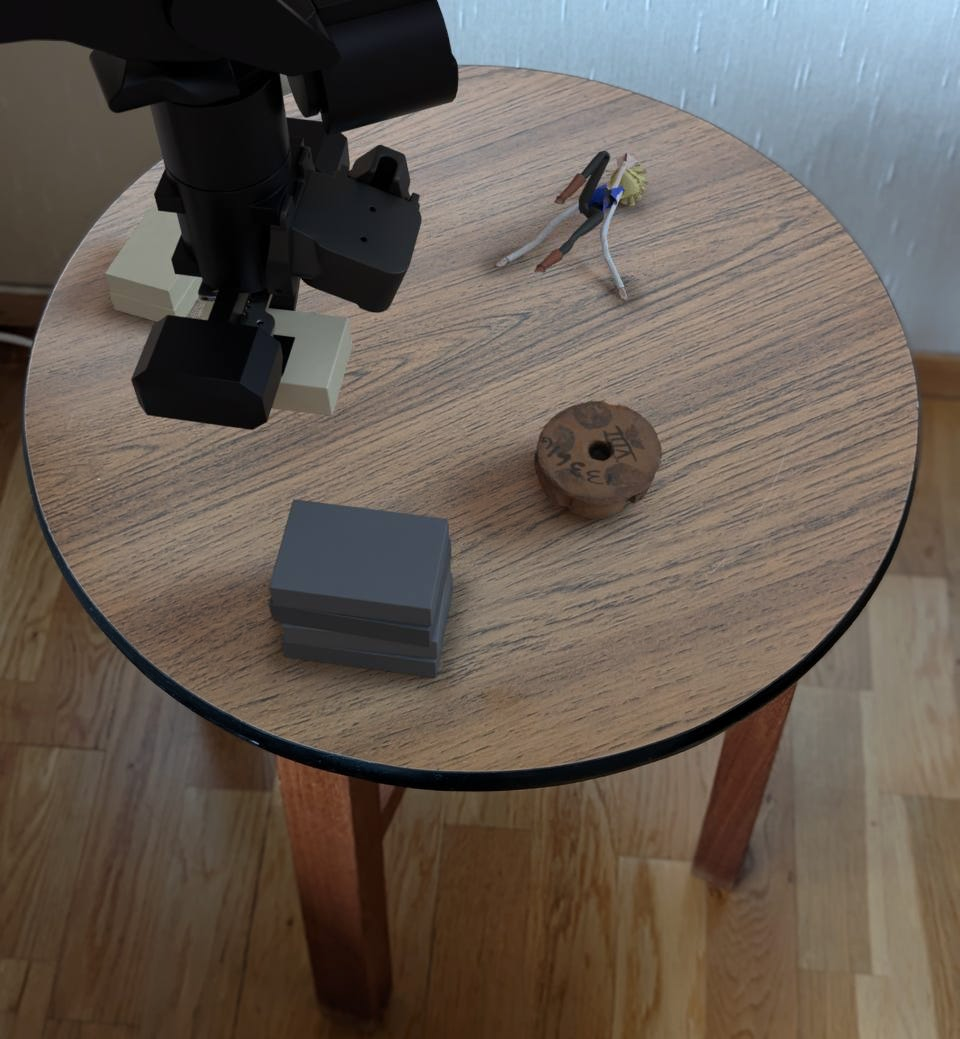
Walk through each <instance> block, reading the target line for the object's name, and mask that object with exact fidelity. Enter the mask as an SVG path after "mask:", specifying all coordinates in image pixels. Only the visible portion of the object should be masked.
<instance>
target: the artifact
mask: <svg viewBox="0 0 960 1039" xmlns="http://www.w3.org/2000/svg"><path fill="white" fill-rule="evenodd" d="M662 456H663V450H662V444H661V442H660V439H659V436H658V434H657V431H656V430H655V428H654V427H653V425H652V423H651V422H649V420H647V419H646V418H645V417H644V416H642V415H641V414H640V413H639V412H638V411H635V410H634V409H632V408H630V407H628V406H625V405H622V404H611V403H609V402H606V401H604V400H590V401H585V402H580V403H578V404H573V405H571V406H569V407H566V408H564V409H562V410H561V411H559V412H558V413H556V414H555V415H554V416H553V417H551V419H550V420H549V421H548V422H546V424H545V425H544V426H543V428H542V430H541V431H540V434H539V436H538V441H537V443H536V450H535V452H534V455H533V466H534V473H535V475H536V478H537V481H538V483H539V485H540V488H541V489H542V491H543V493H544V494H545V496H546V497H547V498H548V499H550V501H552V502H553V503H555V504H557V505H558V506H561V507H565V508H566V509H569V510H570V511H571V512H572V513H574V514H577V515H578V516H580V517H584V518H587V519H589V520H594V521H595V520H605V519H606V518H608V517H611V516H614V515H615V514H618V513H619V512H620V511H621V510H622V509H623V508H624V507H625V506H626V504H627V503H628V502H630V503H632V504H635V503H638V502H640V501H641V500H643V499H644V497H646V496H647V493H648V491H649V489H650V488H651V486H652V483H653V481H654V480H655V476H656V473H657V471H658V470H659V468H660V466H661V463H662V458H663V457H662Z"/></svg>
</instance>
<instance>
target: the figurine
mask: <svg viewBox="0 0 960 1039" xmlns="http://www.w3.org/2000/svg"><path fill="white" fill-rule="evenodd" d="M610 161H611V155H610V153H609V152H608V151H607V150H601V151H598V152H597V153H596V155H595V156H594V157H593V158H592V159H591V160H590V161H589V163H588V164H587V165H586V166H585V167H584V169H583V170H582V171H581V173H580V172H577V173H576V175H575V176H574V177H573V178H572V179H571V181H570V182H569V184H568V185H567V186H566V187H565V188H564V189H563V191H562V192H560V193H559V195H557V196H556V198H555V200H554V202H553V203H554V204H558V205H564V204H565V203H566V200H567V199H569V198H571V197H572V196H574V194H575V193H576V192H577V191H578V190H579V189H580V188H581V187H582V186H584V187H583V188H582V191H581V193H580V195H579V197H578V201H577V202H575V203H574V204H573V205H571V206H570V207H568V208H567V209H565V210H563V211H562V212H561V213H560V214H558V215H557V216H556V217H555V218H553V219H551V221H550V222H549V223H548V224H547V225H546V226H545V228H543V229H542V231H540V233H538V234H537V237H536V238H534V239H533V240H532V241H530V242H528V243H526V244H525V245H524V246H522V247H521V248H518V249H516V250H515V251H514V252H512V253H510V254H508V255H506V256H505V257H503V258H501V259H500V260H498V261H497V262H496V263H495V267H497V268H498V267H499V268H501V267H504V266H505V265H507V263H511V262H513V261H514V260H516V259H518V258H519V257H521V256H523V255H524V254H525V255H526V253H528V252H529V251H531V250H533V249H534V248H535V247H537V246H538V245H540V244H541V243H542V242H543V241H544V240H545V239H546V237H547V236H548V235H549V234H550V233H551V232H553V231H554V229H555V228H556V227H557V226H558V225H560V224H562V223H563V222H564V221H565V220H566V219H567V218H569V217H570V216H571V215H573V214H574V213H576V212H577V211H579V214H581V215H583V216H585V218H586V220H584V222H582V223H581V225H579V227H577V228H576V229H575V230H574V231H573V233H572V234H571V236H570V237H569V238H568V239H567V240H566V241H565V242H564V243H563V244H562V245H561V246H559V248H556V249H554V250H552V252H550V253H549V254H548V255H547V256H546V257H545V258H544V259H543V260H542V261H540V263H538V264H536V268H534V271H533V272H535V273H542V274H544V273H545V272H546V271H547V269H549V268H551V267H553V266H554V265H555V264H557V263H559V262H561V261H562V260H563V258H564V256H565V255H566V254H568V253H569V252H570V251H571V250H572V248H574V245H575V243H576V241H578V240H579V238H582V237H583V236H585V235H587V234H588V233H590V232H591V231H593V230H594V229H595V228H597V227H598V226H599V225H601V226H600V228H599V241H600V244H601V249H602V255H603V259H604V261H605V263H606V265H607V268H608V271H609V273H610V276H611V277H612V279H613V281H614V284H615V286H616V288H617V290H618V294H619V296H620V298H621V299H622V300H624V301H627V300H628V295H627V292H626V289H625V285H624V283H623V281H622V278H621V276H620V274H619V272H618V270H617V267H616V265H615V263H614V261H613V259H612V256H611V253H610V251H609V241H608V234H609V227H610V223H611V220H612V217H613V216H614V213H615V211H616V209H617V207H618V204H619V202H620V203H621V204H622V205H624V206H626V205H627V204H628V200H629V204H630V205H629V207H634V206H635V204H636V202H639V201H641V200H642V195H644V194H645V193H646V189H645V187H644V185H647V186H649V180H646V178H645V177H644V176H643V175H644V174H647V169H645V168H638V167H642V164H641V162H640V161H639V160H638V159H636V158H634V157H633V156H631V155H630V154H629V153H628V152H625V153H624V154H623V155H622V156H618V157H616V160H615V161H616V165H617V168H616V169H614V170H607V169H606V168H607V166H608V165H609V162H610ZM671 169H673V166H671ZM605 172H606V173H612V174H611V176H610V178H609V181H608V184H607V183H604V184H602V185H599V183H600V181H601V179H602V177H603V175H604V173H605ZM640 174H643V175H640ZM643 184H644V185H643ZM641 194H642V195H641ZM634 196H635V197H634ZM635 198H636V200H635ZM606 209H609V211H608V213H607V215H606V216H605V214H606ZM601 223H602V224H601Z"/></svg>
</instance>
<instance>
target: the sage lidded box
mask: <svg viewBox="0 0 960 1039" xmlns="http://www.w3.org/2000/svg"><path fill="white" fill-rule="evenodd" d="M180 236H181V229H180V225H179V221H178V217H177V213H172V212H164V211H158V208H157V206H154V205H151V206H150V207H149V209H147V212H146V213H145V215H144V216H143V217H142V219H141V220H140V222H139V223H138V224H137V226H136V228H135V229H134V230H133V231H132V233H131V234H130V236H129V237H128V238H127V241H126V242H125V243H124V244H123V246H122V248H121V249H120V251H119V252H118V253H117V254H116V256H115V258H114V259H113V260H112V261H111V263H110V265H109V266H108V268H107V269H106V270H105V272H104V276H105V278H106V281H107V285H108V288H109V292H108V294H109V297H110V300H111V303H112V306H113V309H114V310H115V311H118V312H120V313H124V314H128V315H132V316H135V317H139V318H142V319H146V320H148V321H153V322H155V323H157V322H158V321H160V320H161V319H162V318H164V317H165V316H167V315H173V316H180V317H188V316H189V313H190V312H191V310H192V309H193V307H194V305H195V304H196V303H197V301H198V299H199V296H198V290H199V287H200V285H201V282H202V278H201V277H194V276H186V275H178V274H175V272H174V269H173V265H172V261H171V258H172V256H173V253H174V251H175V248H176V246H177V243H178V241H179V238H180Z"/></svg>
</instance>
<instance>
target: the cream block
mask: <svg viewBox="0 0 960 1039" xmlns="http://www.w3.org/2000/svg"><path fill="white" fill-rule="evenodd" d="M213 304H214V301H213V302H210V301H205V304H204V306H203V309H202V312H201V314H200V317H199V319H203V320H208V318H209V315H210V312H211V309H212V307H213ZM246 308H247V307H246ZM267 312H268V313H269V314H271V315H272V316H273V317H274V319H275V323H276V329H275V332H274V334H276V335H283V336H291V337H295V341H294V344H293V347H292V350H291V353H290V356H289V359H288V362H287V366H286V369H285V372H284V374H283V376H282V378H281V381H280V384H279V387H278V390H277V393H276V396H275V399H274V403H273V406H272V409H273V410H282V411H290V412H297V413H298V412H299V413H306V414H313V415H321V416H329V417H331V416H332V417H333V415H334V413H335V412H334V411H335V408H336V405H337V402H338V398H339V395H340V391H341V388H342V385H343V384H342V383H343V380H344V378H345V375H346V370H347V367H348V364H349V360H350V356H351V352H352V349H353V339H352V333H351V326H350V320H349V317H348V316H341V315H340V316H339V315H331V314H323V313H315V312H314V313H313V312H305V311H299V310H298V311H289V310H280V309H272V308H268V310H267ZM244 315H245V313H244Z"/></svg>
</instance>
